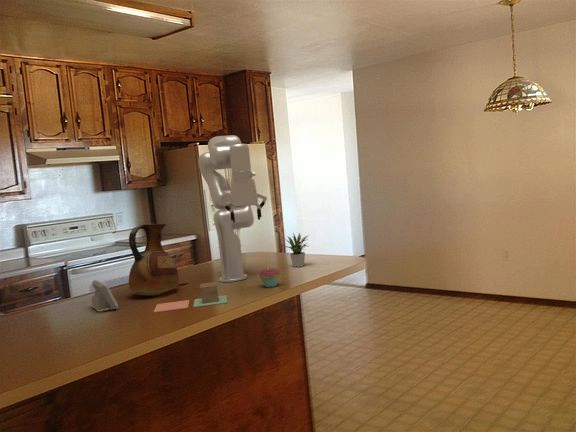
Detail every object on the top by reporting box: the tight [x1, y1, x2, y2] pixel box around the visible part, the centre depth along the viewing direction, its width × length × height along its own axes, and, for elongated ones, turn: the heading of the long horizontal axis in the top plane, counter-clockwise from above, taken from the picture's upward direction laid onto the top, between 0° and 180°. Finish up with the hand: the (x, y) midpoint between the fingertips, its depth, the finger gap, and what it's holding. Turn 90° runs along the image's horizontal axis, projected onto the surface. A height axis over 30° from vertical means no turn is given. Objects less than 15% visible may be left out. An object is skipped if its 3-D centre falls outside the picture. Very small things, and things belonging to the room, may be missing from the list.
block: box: [199, 281, 219, 304], centre depth 192 cm, size 6×6×6 cm
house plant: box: [284, 232, 310, 267], centre depth 246 cm, size 14×14×16 cm
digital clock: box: [91, 279, 119, 310], centre depth 199 cm, size 16×9×11 cm, turn 22°
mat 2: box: [193, 294, 228, 308], centre depth 192 cm, size 12×12×1 cm
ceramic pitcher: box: [128, 223, 179, 296], centre depth 216 cm, size 20×20×30 cm
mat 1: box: [153, 299, 190, 314], centre depth 190 cm, size 12×12×1 cm
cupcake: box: [258, 257, 281, 288], centre depth 209 cm, size 9×8×12 cm
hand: (246, 220), depth 200 cm, fingers open, 9 cm apart
